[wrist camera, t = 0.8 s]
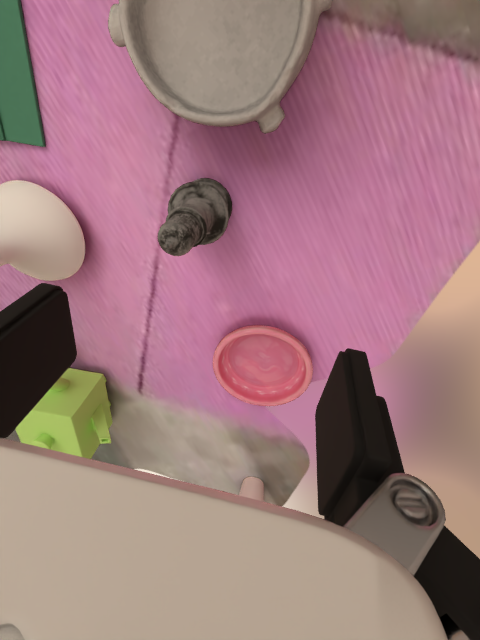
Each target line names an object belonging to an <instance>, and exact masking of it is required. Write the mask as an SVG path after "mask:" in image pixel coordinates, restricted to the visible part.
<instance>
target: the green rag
mask: <svg viewBox="0 0 480 640" xmlns="http://www.w3.org/2000/svg"><path fill="white" fill-rule="evenodd" d="M0 140H2V141H12V142H18V143H24V144H29V145H35V146H41V147H45V146H46V145H45V139H44V134H43V128H42V122H41V116H40V111H39V105H38V99H37V94H36V88H35V82H34V76H33V71H32V65H31V59H30V53H29V48H28V42H27V36H26V30H25V25H24V19H23V13H22V7H21V2H20V0H0Z"/></svg>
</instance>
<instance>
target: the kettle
mask: <svg viewBox="0 0 480 640" xmlns="http://www.w3.org/2000/svg"><path fill="white" fill-rule="evenodd" d="M105 383H106V378H105V376H104V375H103V374H100V373H94V372H88V371H83V370H77V369H72V368H68V369H67V370H66V371H65V372H64V374H63V375H62V376H61V377H60V378H59V379H58V380H57V382H56V383H55V384H54V385H53V386H52V387H51V388H50V390H49V391H48V392H47V393H46V394H45V395H44V396H43V398H42V399H41V400H40V401H39V402H38V403H37V404H36V406H35V407H34V408H33V409H32V410H31V411H30V412H29V414H28V415H27V416H26V417H25V418H24V419H23V420H22V422H21V423H20V424H19V425H18V426H17V427H16V428H15V429H16V431H17V434H18V436H19V438H20V440H21V443H25V444H29V445H33V446H37V447H42V448H46V449H50V450H54V451H59V452H63V453H67V454H71V455H75V456H80V457H84V458H88V459H91V458H92V456H93V454H94V453H95V451H96V449H97V448H98V446H99V444H104V443H111V438H110V434H109V430H108V429H109V428H110V426H111V424H112V417H111V411H110V406H111V403H110V402H109V401H108V395H107V390H106V385H105Z"/></svg>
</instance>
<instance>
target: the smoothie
mask: <svg viewBox="0 0 480 640" xmlns="http://www.w3.org/2000/svg"><path fill="white" fill-rule="evenodd" d="M239 496H243V497H247V498H251V499H255V500H258V501H262V502H264V484H263V482H262V481H261V480H260V479H258V478H256V477H247V478H245V479H244V480H243V483H242V486H241V490H240V493H239Z"/></svg>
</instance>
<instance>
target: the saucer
mask: <svg viewBox="0 0 480 640" xmlns="http://www.w3.org/2000/svg"><path fill="white" fill-rule="evenodd" d="M213 369H214V373H215V375H216V378H217V380H218V381H219V383H220V384H221V385H222V387H223V388H224V389H225V390H226V391H227V392H228V393H230V394H231V395H232V396H234V397H236V398H237V399H239V400H241V401H244V402H247V403H250V404H254V405H259V406H276V405H282V404H285V403H288V402H291V401H293V400H295V399H296V398H298V397H299V396H300V395H302V394H303V393H304V391H305V390H306V389H307V388H308V386H309V384H310V382H311V379H312V373H313V367H312V361H311V357H310V355H309V353H308V351H307V350H306V348H305V347H304V345H303V344H302V343H301V342H300V341H299V340H298V339H296V338H295V337H294V336H292V335H291V334H289V333H287V332H285V331H283V330H281V329H278V328H274V327H270V326H263V325H254V326H246V327H242V328H239V329H237V330H234V331H232V332H231V333H229V334H228V335H226V336H225V337H224V338H223V339H222V340H221V341H220V343H219V344H218V346H217V348H216V350H215V353H214V357H213Z"/></svg>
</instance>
